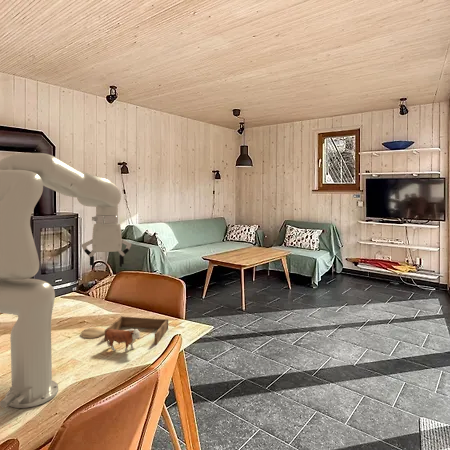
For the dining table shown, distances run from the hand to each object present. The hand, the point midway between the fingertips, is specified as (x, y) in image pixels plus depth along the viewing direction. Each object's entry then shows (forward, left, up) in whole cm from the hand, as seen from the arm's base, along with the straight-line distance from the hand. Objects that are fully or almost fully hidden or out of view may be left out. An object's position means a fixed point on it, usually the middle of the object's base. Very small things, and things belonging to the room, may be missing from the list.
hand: (106, 266), depth 132 cm
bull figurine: (-7, -10, -28) cm, 30 cm away
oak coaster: (+5, +7, -28) cm, 29 cm away
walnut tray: (+7, -10, -28) cm, 30 cm away
